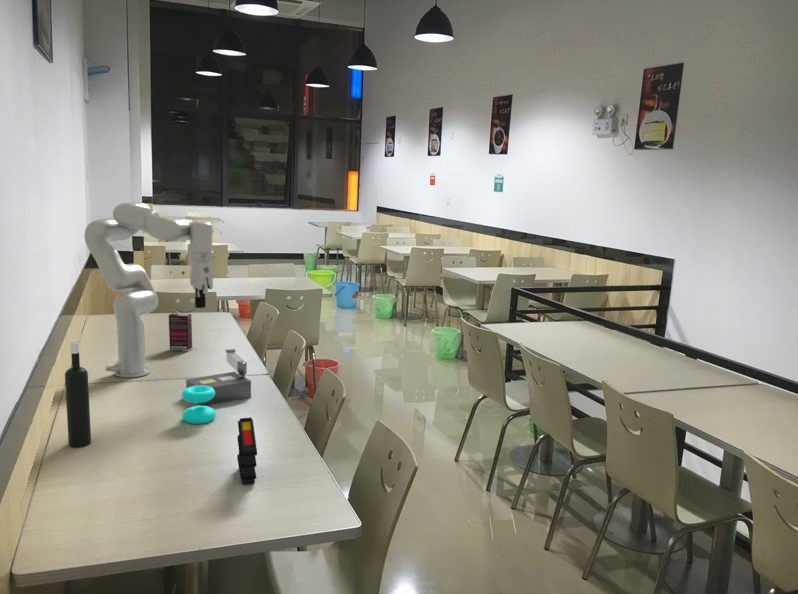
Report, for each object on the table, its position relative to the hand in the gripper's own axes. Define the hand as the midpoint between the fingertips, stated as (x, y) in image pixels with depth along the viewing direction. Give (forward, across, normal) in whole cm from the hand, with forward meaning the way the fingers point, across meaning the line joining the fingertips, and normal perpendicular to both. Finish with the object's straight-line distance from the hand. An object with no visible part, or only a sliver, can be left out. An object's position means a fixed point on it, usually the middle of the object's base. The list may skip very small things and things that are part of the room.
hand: (200, 307), depth 239 cm
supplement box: (+31, +51, -12) cm, 60 cm away
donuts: (+28, -34, +13) cm, 46 cm away
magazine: (+27, -80, +19) cm, 86 cm away
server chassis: (+28, -16, -2) cm, 33 cm away
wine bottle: (+29, -34, +48) cm, 66 cm away
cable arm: (+22, -8, -11) cm, 25 cm away
